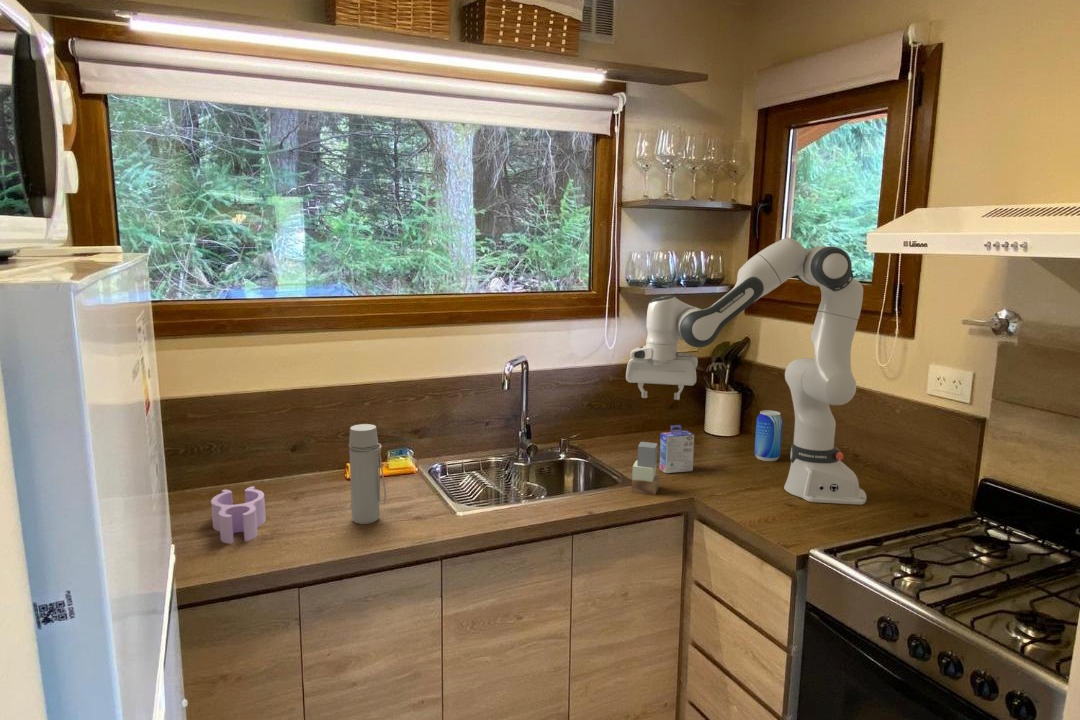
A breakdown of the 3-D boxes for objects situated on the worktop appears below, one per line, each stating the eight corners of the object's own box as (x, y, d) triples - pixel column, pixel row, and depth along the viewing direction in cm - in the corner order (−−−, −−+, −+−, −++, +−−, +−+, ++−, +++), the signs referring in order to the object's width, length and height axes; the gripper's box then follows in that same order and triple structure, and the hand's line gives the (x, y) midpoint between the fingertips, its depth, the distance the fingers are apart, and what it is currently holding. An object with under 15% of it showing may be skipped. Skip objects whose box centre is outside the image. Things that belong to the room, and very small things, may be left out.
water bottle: (346, 525, 180) (343, 430, 175) (358, 513, 187) (355, 422, 183) (380, 527, 178) (378, 432, 174) (391, 515, 186) (389, 424, 182)
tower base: (658, 488, 210) (659, 475, 209) (655, 496, 204) (656, 482, 203) (635, 485, 212) (636, 472, 212) (631, 493, 206) (632, 480, 205)
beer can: (748, 456, 241) (751, 410, 238) (767, 453, 245) (770, 408, 242) (766, 463, 234) (769, 416, 231) (785, 460, 237) (788, 414, 234)
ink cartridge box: (685, 466, 230) (687, 423, 227) (693, 471, 225) (696, 427, 222) (658, 468, 227) (660, 425, 225) (665, 473, 222) (667, 429, 219)
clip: (266, 539, 171) (265, 512, 170) (210, 547, 167) (208, 519, 165) (265, 509, 189) (263, 485, 188) (214, 515, 185) (212, 490, 184)
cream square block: (655, 475, 209) (656, 462, 209) (652, 481, 204) (653, 468, 203) (635, 473, 211) (636, 460, 210) (632, 479, 206) (632, 466, 205)
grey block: (656, 462, 208) (657, 443, 207) (654, 467, 204) (655, 448, 203) (639, 461, 210) (640, 441, 209) (637, 466, 205) (638, 446, 204)
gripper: (698, 351, 203) (697, 398, 206) (628, 349, 209) (628, 394, 212) (697, 355, 197) (695, 403, 200) (625, 352, 203) (624, 398, 206)
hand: (660, 398), depth 206 cm, fingers open, 8 cm apart
